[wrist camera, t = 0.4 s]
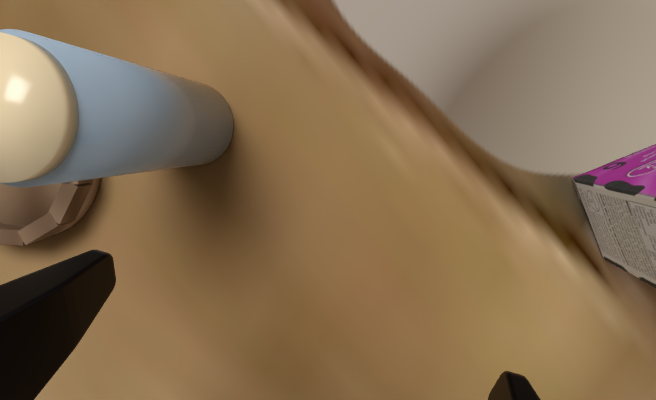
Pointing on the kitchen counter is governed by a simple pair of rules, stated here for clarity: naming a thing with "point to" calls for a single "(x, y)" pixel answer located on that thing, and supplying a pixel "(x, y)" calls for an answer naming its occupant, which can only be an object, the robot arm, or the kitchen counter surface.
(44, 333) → the robot arm
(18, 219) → the walnut tray
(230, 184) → the kitchen counter surface
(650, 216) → the candy bar box
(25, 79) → the bead jar
